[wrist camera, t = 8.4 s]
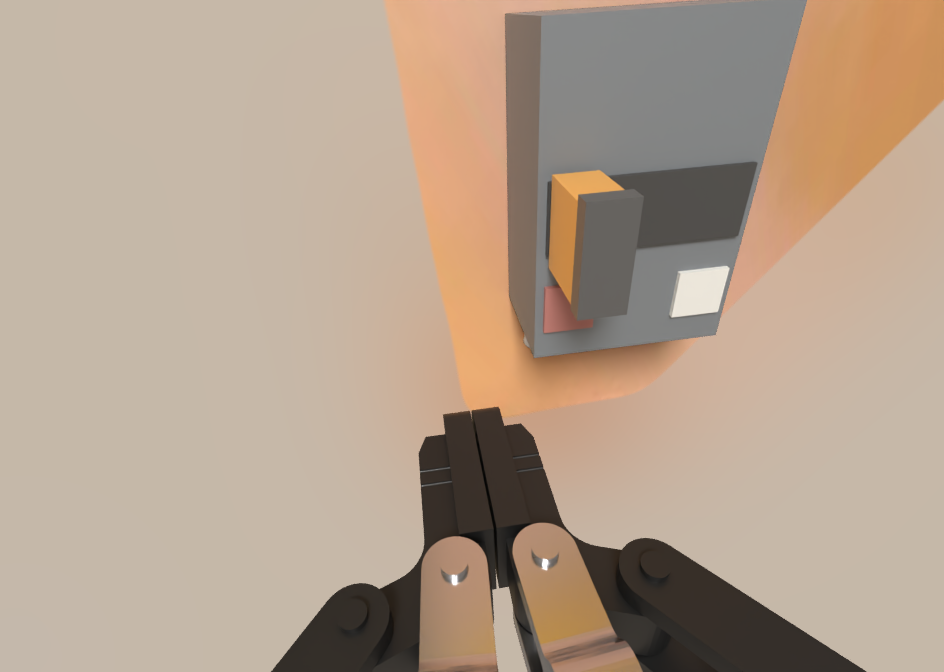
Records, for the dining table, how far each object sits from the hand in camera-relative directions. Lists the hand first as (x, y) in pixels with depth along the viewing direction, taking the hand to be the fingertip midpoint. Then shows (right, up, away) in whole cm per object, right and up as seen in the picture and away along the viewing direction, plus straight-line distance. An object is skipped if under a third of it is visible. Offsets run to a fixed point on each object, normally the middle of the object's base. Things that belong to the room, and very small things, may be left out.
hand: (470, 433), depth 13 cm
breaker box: (+8, +14, +20) cm, 25 cm away
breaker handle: (+5, +9, +12) cm, 16 cm away
